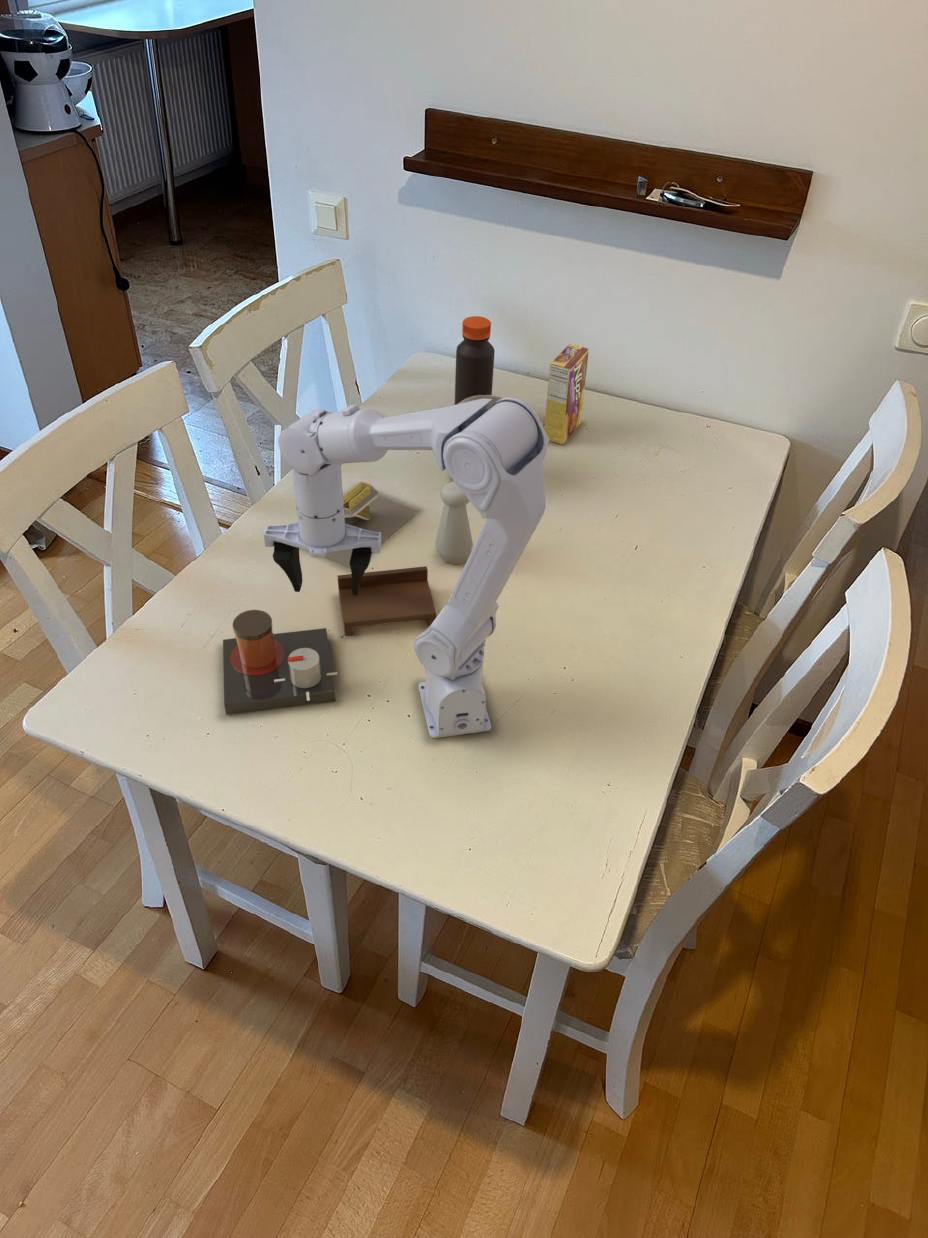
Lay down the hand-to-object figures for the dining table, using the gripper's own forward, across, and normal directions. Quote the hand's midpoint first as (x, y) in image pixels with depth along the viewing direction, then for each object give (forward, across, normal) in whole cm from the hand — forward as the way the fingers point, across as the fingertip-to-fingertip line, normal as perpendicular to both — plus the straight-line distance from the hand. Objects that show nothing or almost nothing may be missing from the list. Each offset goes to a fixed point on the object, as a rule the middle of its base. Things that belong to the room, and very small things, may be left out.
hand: (327, 588), depth 121 cm
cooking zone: (+8, -9, -6) cm, 13 cm away
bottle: (+10, +17, +60) cm, 63 cm away
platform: (+10, 0, +27) cm, 28 cm away
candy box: (+10, +34, +59) cm, 69 cm away
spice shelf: (+10, +7, +7) cm, 14 cm away
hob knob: (+8, -2, -9) cm, 12 cm away
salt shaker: (+10, +16, +20) cm, 28 cm away
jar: (+8, -9, -6) cm, 13 cm away
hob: (+10, -6, -7) cm, 13 cm away
